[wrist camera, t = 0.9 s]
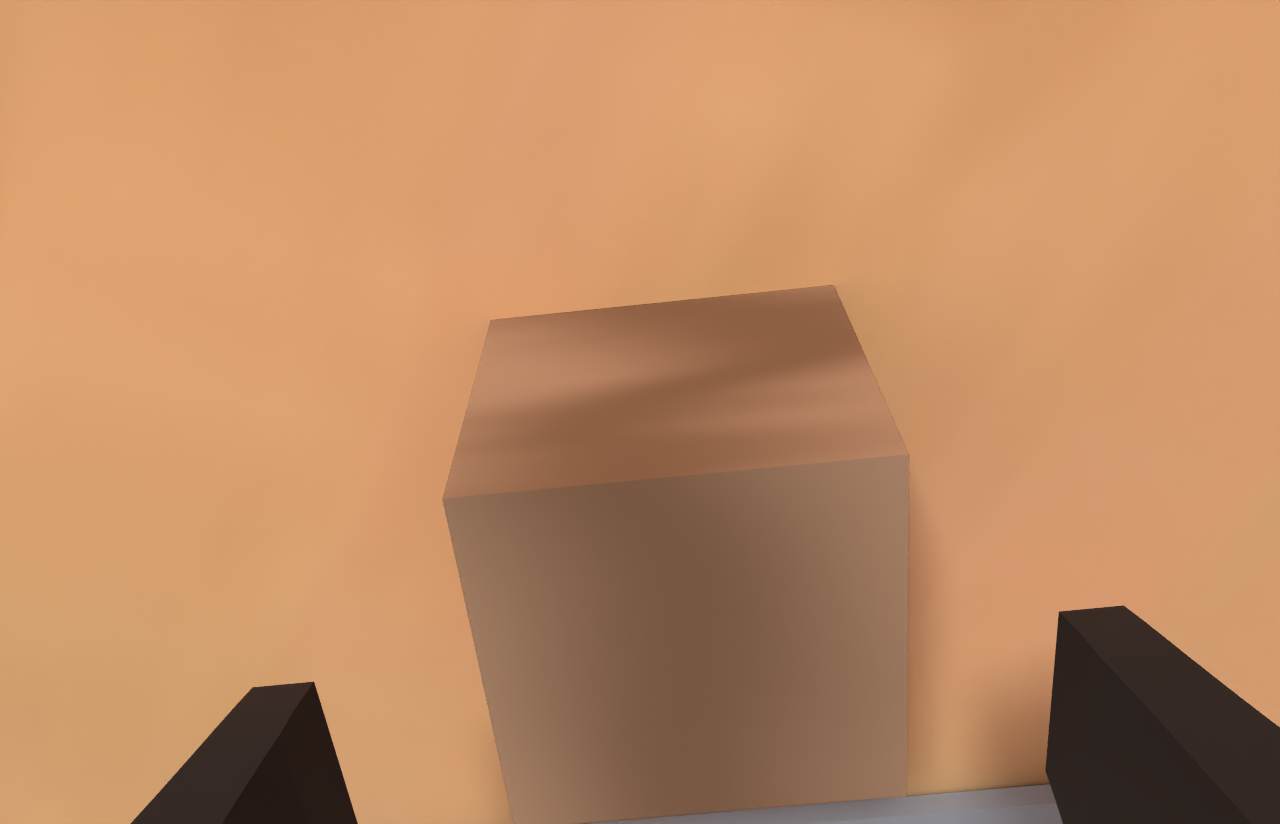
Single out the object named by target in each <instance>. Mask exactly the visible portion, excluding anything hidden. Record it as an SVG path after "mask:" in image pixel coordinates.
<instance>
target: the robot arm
mask: <svg viewBox="0 0 1280 824" xmlns="http://www.w3.org/2000/svg"><path fill="white" fill-rule="evenodd" d="M1046 773H1047V776H1048V779H1049V782H1050V786H1051V789H1052V792H1053V795H1054V798H1055V801H1056V804H1057V807H1058V810H1059V813H1060V816H1061V819H1062V822H1063V824H1280V727H1278V726H1277V725H1276V724H1274V723H1273V722H1272V721H1270V720H1269V719H1268V718H1266V717H1265V716H1264V715H1263V714H1261V713H1260V712H1259V711H1257V710H1256V709H1255V708H1253V707H1252V706H1251V705H1250V704H1248V703H1247V702H1246V701H1244V700H1243V699H1242V698H1240V697H1239V696H1238V695H1237V694H1235V693H1234V692H1233V691H1232V690H1230V689H1229V688H1228V687H1226V686H1225V685H1224V684H1223V683H1221V682H1220V681H1219V680H1218V679H1216V678H1215V677H1214V676H1212V675H1211V674H1210V673H1209V672H1207V671H1206V670H1205V669H1204V668H1202V667H1201V666H1200V665H1198V664H1197V663H1196V662H1195V661H1193V660H1192V659H1191V658H1190V657H1188V656H1187V655H1186V654H1185V653H1183V652H1182V651H1181V650H1180V649H1178V648H1177V647H1176V646H1175V645H1173V644H1172V643H1171V642H1170V641H1168V640H1167V639H1166V638H1165V637H1163V636H1162V635H1161V634H1160V633H1158V632H1157V631H1156V630H1155V629H1153V628H1152V627H1151V626H1149V625H1148V624H1147V623H1146V622H1144V621H1143V620H1142V619H1141V618H1139V617H1138V616H1137V615H1135V614H1134V613H1133V612H1131V611H1130V610H1129V609H1127V608H1126V607H1125V606H1115V607H1104V608H1094V609H1083V610H1072V611H1062V612H1059V617H1058V629H1057V641H1056V653H1055V665H1054V676H1053V688H1052V700H1051V712H1050V723H1049V735H1048V747H1047V759H1046ZM131 824H358V823H357V820H356V817H355V814H354V810H353V807H352V804H351V801H350V797H349V794H348V791H347V788H346V784H345V781H344V778H343V775H342V771H341V768H340V765H339V762H338V758H337V755H336V752H335V749H334V745H333V742H332V739H331V736H330V732H329V729H328V726H327V723H326V719H325V716H324V713H323V710H322V706H321V703H320V700H319V697H318V693H317V690H316V687H315V684H314V682H306V683H296V684H285V685H274V686H264V687H253V688H252V689H251V690H250V691H249V692H248V693H247V694H246V695H245V696H244V697H243V699H242V700H241V701H240V702H239V703H238V704H237V705H236V706H235V707H234V708H233V709H232V711H231V712H230V713H229V714H228V715H227V716H226V717H225V718H224V720H223V721H222V722H221V723H220V724H219V725H218V726H217V727H216V729H215V730H214V731H213V732H212V733H211V734H210V735H209V737H208V738H207V739H206V740H205V741H204V742H203V743H202V745H201V746H200V747H199V748H198V749H197V750H196V751H195V752H194V754H193V755H192V756H191V757H190V758H189V759H188V760H187V762H186V763H185V764H184V765H183V766H182V767H181V768H180V769H179V771H178V772H177V773H176V774H175V775H174V776H173V777H172V778H171V780H170V781H169V782H168V783H167V784H166V785H165V786H164V787H163V789H162V790H161V791H160V792H159V793H158V794H157V795H156V796H155V797H154V799H153V800H152V801H151V802H150V803H149V804H148V805H147V806H146V807H145V808H144V810H143V811H142V812H141V813H140V814H139V815H138V816H137V817H136V818H135V819H134V821H133V822H132V823H131Z"/></svg>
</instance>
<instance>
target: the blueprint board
mask: <svg viewBox="0 0 1280 824" xmlns="http://www.w3.org/2000/svg"><path fill="white" fill-rule="evenodd" d="M586 824H1063V822H1062V819H1061V816H1060V813H1059V810H1058V807H1057V804H1056V801H1055V798H1054V795H1053V792H1052V789H1051V786H1050V784H1046V785H1034V786H1023V787H1011V788H999V789H987V790H975V791H964V792H952V793H940V794H928V795H916V796H905V797H893V798H881V799H869V800H858V801H846V802H834V803H822V804H810V805H799V806H787V807H775V808H763V809H751V810H740V811H728V812H716V813H704V814H693V815H681V816H669V817H657V818H645V819H634V820H622V821H610V822H598V823H586Z"/></svg>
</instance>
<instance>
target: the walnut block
mask: <svg viewBox="0 0 1280 824" xmlns="http://www.w3.org/2000/svg"><path fill="white" fill-rule="evenodd" d="M443 503H444V508H445V513H446V517H447V522H448V526H449V531H450V535H451V540H452V545H453V549H454V554H455V558H456V563H457V567H458V572H459V577H460V581H461V586H462V590H463V595H464V599H465V604H466V609H467V613H468V618H469V622H470V627H471V631H472V636H473V641H474V645H475V650H476V654H477V659H478V663H479V668H480V673H481V677H482V682H483V686H484V691H485V695H486V700H487V705H488V709H489V714H490V718H491V723H492V727H493V732H494V737H495V741H496V746H497V750H498V755H499V759H500V764H501V769H502V773H503V778H504V782H505V787H506V791H507V796H508V801H509V805H510V810H511V814H512V819H513V823H514V824H580V823H592V822H603V821H615V820H627V819H639V818H651V817H663V816H675V815H687V814H699V813H711V812H723V811H735V810H747V809H759V808H771V807H783V806H795V805H806V804H818V803H830V802H842V801H854V800H866V799H878V798H890V797H902V796H907V698H908V545H909V453H908V451H907V448H906V446H905V444H904V442H903V439H902V437H901V435H900V433H899V430H898V428H897V426H896V424H895V421H894V419H893V417H892V415H891V412H890V410H889V408H888V406H887V403H886V401H885V399H884V397H883V394H882V392H881V390H880V388H879V385H878V383H877V381H876V379H875V376H874V374H873V372H872V370H871V367H870V365H869V363H868V361H867V358H866V356H865V354H864V352H863V350H862V347H861V345H860V343H859V341H858V338H857V336H856V334H855V332H854V329H853V327H852V325H851V323H850V320H849V318H848V316H847V314H846V311H845V309H844V307H843V305H842V302H841V300H840V298H839V296H838V293H837V291H836V289H835V287H834V285H828V286H818V287H809V288H799V289H789V290H779V291H769V292H760V293H750V294H740V295H730V296H721V297H711V298H701V299H691V300H682V301H672V302H662V303H652V304H642V305H633V306H623V307H613V308H603V309H594V310H584V311H574V312H564V313H554V314H545V315H535V316H525V317H515V318H506V319H496V320H491V321H490V325H489V329H488V332H487V336H486V340H485V343H484V347H483V351H482V354H481V358H480V362H479V366H478V369H477V373H476V377H475V380H474V384H473V388H472V391H471V395H470V399H469V403H468V406H467V410H466V414H465V417H464V421H463V425H462V428H461V432H460V436H459V440H458V443H457V447H456V451H455V454H454V458H453V462H452V465H451V469H450V473H449V476H448V480H447V484H446V488H445V491H444V495H443Z"/></svg>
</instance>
